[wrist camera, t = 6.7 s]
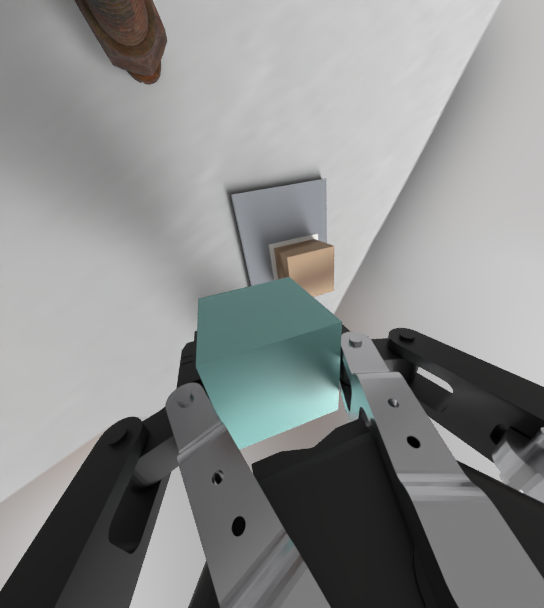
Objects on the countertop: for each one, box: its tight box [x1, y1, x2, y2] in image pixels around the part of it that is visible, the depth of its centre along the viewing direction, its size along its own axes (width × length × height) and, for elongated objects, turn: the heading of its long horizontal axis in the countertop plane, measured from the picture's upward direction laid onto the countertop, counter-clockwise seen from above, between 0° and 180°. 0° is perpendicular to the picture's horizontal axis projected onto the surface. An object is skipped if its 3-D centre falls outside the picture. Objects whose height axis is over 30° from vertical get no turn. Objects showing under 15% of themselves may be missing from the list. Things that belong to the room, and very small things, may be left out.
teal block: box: [196, 277, 342, 449], centre depth 10 cm, size 5×5×5 cm
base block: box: [274, 239, 334, 297], centre depth 27 cm, size 6×6×5 cm
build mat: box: [231, 179, 327, 286], centre depth 28 cm, size 16×12×1 cm
